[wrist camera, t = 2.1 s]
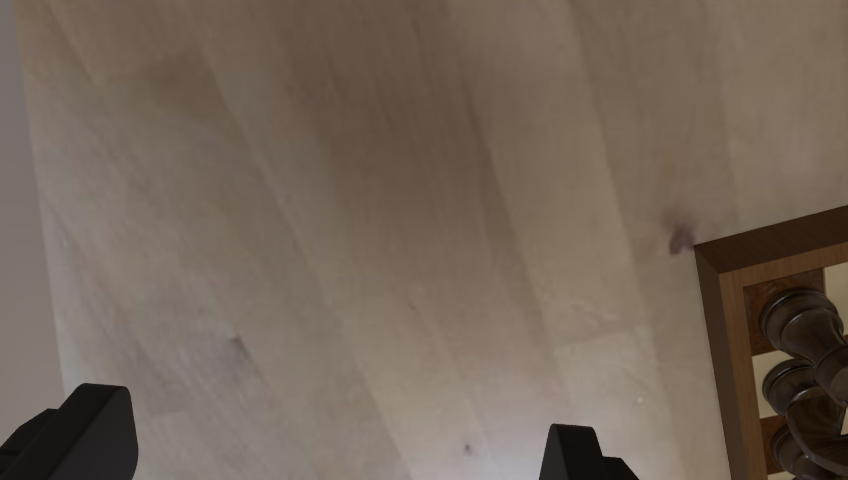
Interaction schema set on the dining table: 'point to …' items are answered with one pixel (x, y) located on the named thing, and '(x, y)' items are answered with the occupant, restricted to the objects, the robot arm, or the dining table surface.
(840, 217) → the chess set
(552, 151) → the dining table surface
